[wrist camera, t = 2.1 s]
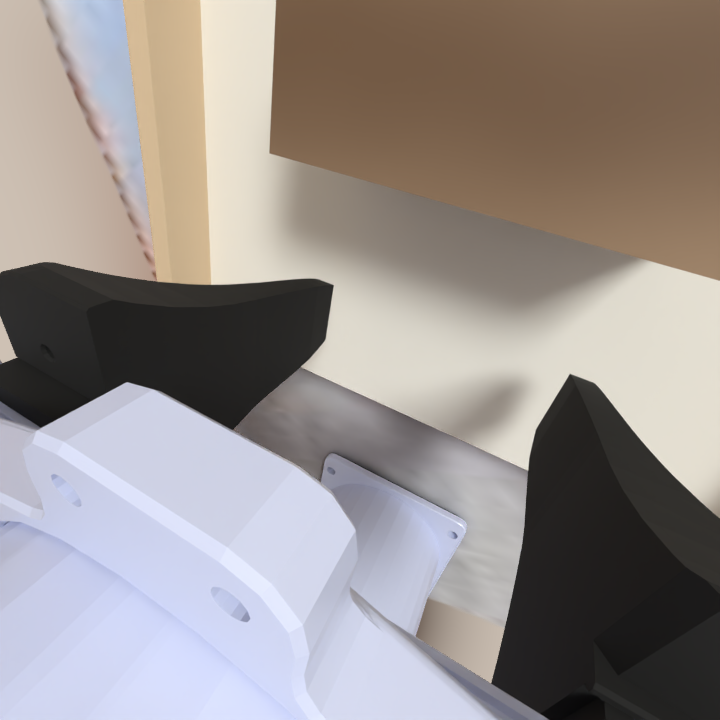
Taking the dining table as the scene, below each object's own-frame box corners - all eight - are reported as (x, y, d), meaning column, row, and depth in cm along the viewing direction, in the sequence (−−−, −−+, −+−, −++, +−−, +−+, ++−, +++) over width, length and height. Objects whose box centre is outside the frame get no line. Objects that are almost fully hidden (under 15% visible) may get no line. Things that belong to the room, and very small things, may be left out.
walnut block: (682, 239, 9) (744, 287, 6) (350, 151, 11) (269, 153, 8) (826, 19, 7) (1048, -90, 4) (378, -31, 9) (281, -124, 6)
